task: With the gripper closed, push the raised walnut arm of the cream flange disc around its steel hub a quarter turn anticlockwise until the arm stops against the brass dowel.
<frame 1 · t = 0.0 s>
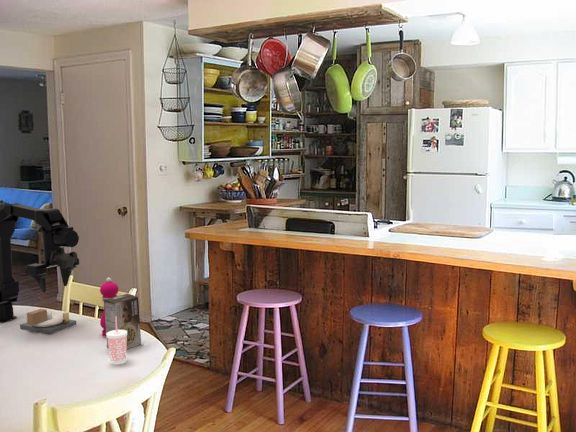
hand: (54, 289, 212), 15 cm above the table, tool pointing down, fingers open, 9 cm apart
pepper mill: (112, 335, 207), on the table
flange: (45, 315, 216), point 4 cm above the table, hinge at 0.0°
base plate: (48, 326, 217), on the table
dowel: (66, 326, 216), resting on base plate
beverage cup: (118, 362, 182), on the table
coffee box: (124, 346, 195), on the table
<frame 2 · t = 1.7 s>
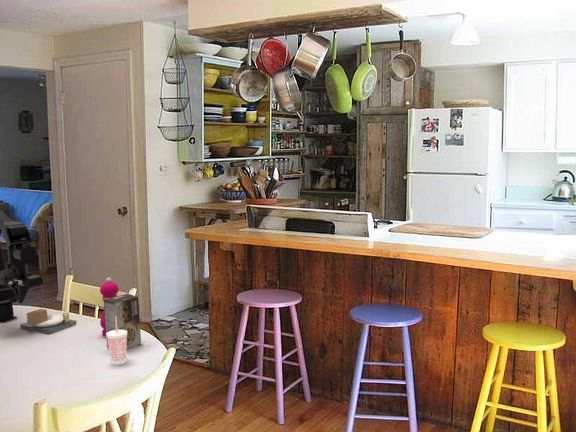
hand: (20, 302, 213), 10 cm above the table, tool pointing down, fingers closed
nothing on the table moved.
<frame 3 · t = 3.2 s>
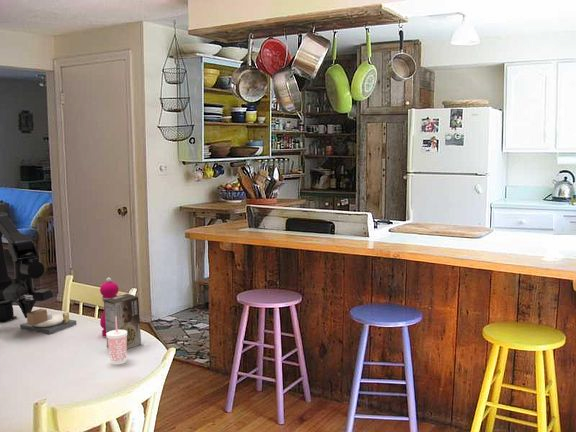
hand: (27, 317, 213), 5 cm above the table, tool pointing down, fingers closed
flange: (45, 315, 216), point 4 cm above the table, hinge at 0.0°, touching gripper
everything else where it was.
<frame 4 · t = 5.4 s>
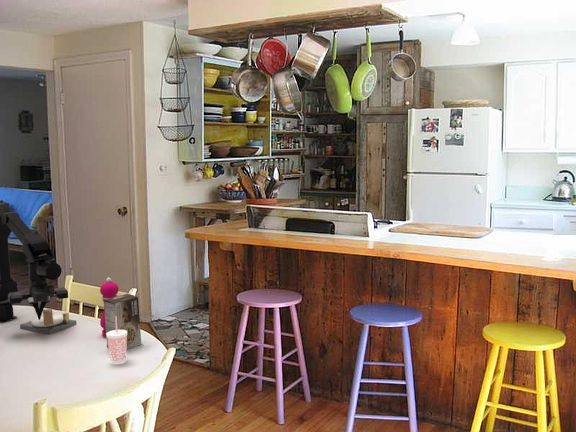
hand: (39, 319, 210), 5 cm above the table, tool pointing down, fingers closed
flange: (47, 315, 216), point 4 cm above the table, hinge at 50.9°, touching gripper
everything else where it was.
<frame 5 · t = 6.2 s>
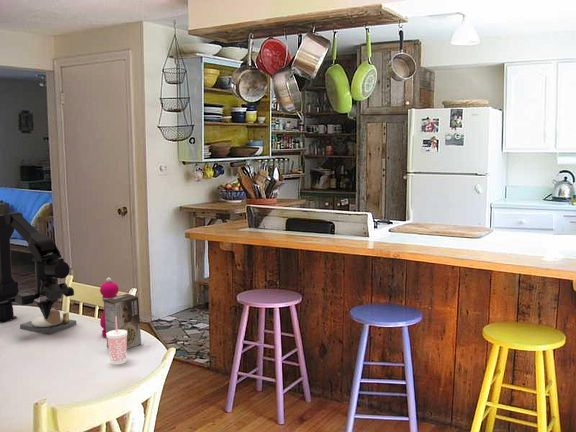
hand: (46, 319, 210), 5 cm above the table, tool pointing down, fingers closed
flange: (48, 315, 216), point 4 cm above the table, hinge at 70.5°, touching gripper
everything else where it was.
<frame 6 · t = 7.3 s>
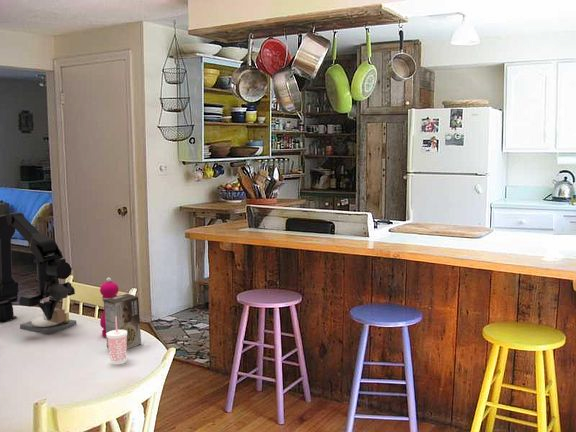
hand: (49, 319, 210), 5 cm above the table, tool pointing down, fingers closed
flange: (49, 315, 216), point 4 cm above the table, hinge at 86.3°
everything else where it was.
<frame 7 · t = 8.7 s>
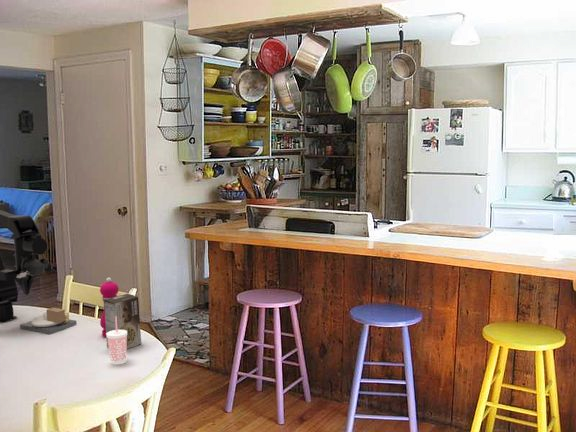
hand: (26, 294, 216), 12 cm above the table, tool pointing down, fingers closed
nothing on the table moved.
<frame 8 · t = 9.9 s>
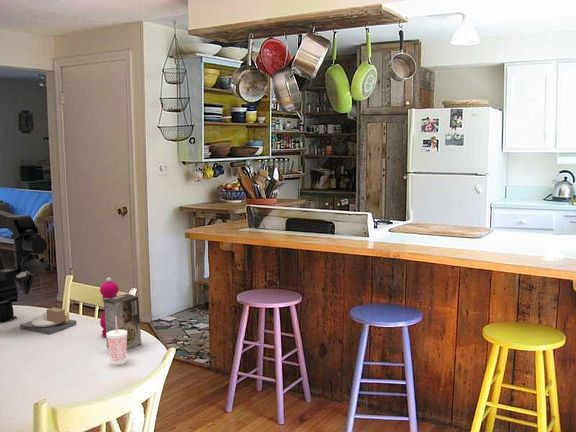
hand: (26, 294, 216), 12 cm above the table, tool pointing down, fingers closed
nothing on the table moved.
at the end: flange at +86° (first picture: +0°); pepper mill moved 0.2 cm from its start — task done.
